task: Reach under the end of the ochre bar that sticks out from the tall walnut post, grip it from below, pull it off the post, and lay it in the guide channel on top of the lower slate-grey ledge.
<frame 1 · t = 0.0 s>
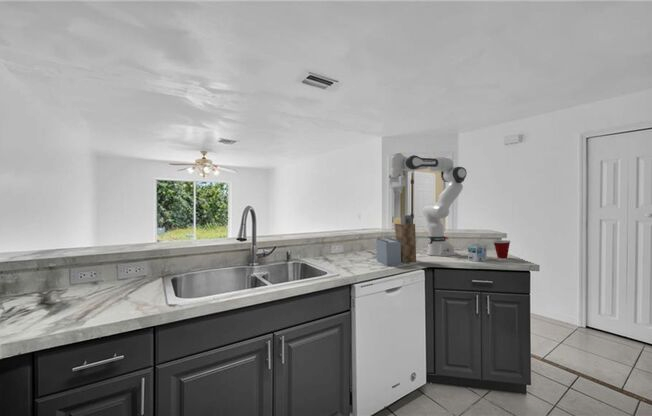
hand: (397, 193, 215), 48 cm above the worktop, tool pointing down, fingers open, 8 cm apart
plastic cup: (501, 258, 200), on the worktop
light bulb box: (477, 260, 194), on the worktop
ochre bar: (401, 223, 203), point 26 cm above the worktop, touching walnut post
slate ledge: (388, 262, 195), on the worktop
walnut post: (406, 261, 198), on the worktop
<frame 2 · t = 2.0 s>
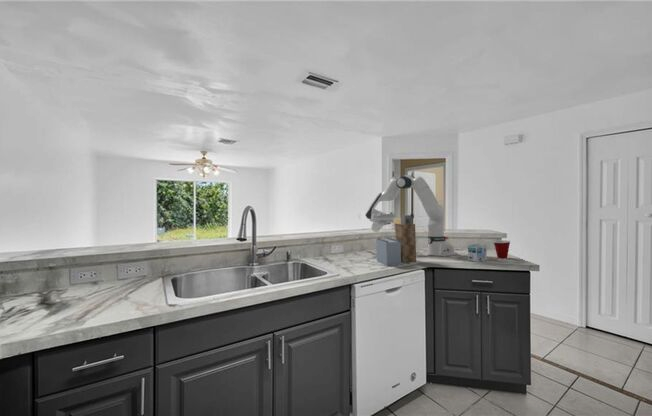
hand: (386, 213, 229), 33 cm above the worktop, tool pointing upward, fingers open, 8 cm apart
nothing on the worktop moved.
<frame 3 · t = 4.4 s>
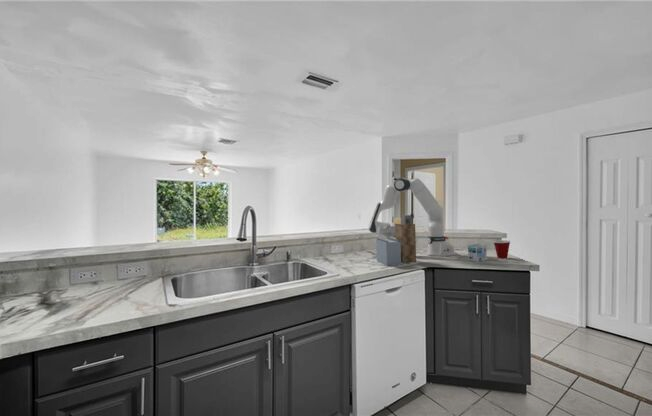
hand: (393, 225, 217), 24 cm above the worktop, tool pointing upward, fingers open, 8 cm apart
nothing on the worktop moved.
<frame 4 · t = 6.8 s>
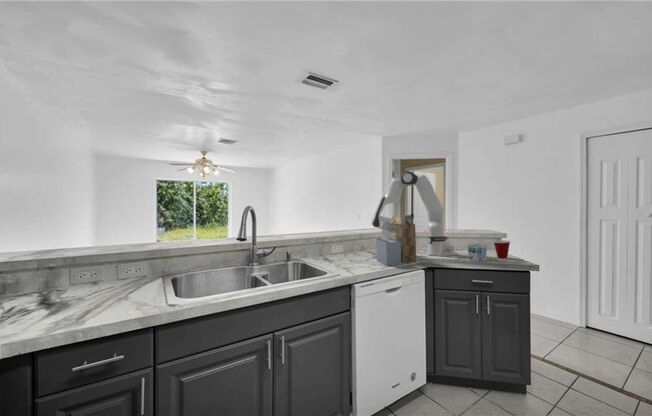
hand: (397, 220, 210), 28 cm above the worktop, tool pointing upward, fingers closed on ochre bar, 3 cm apart
ochre bar: (401, 223, 203), point 26 cm above the worktop, touching gripper, walnut post
everything else where it was.
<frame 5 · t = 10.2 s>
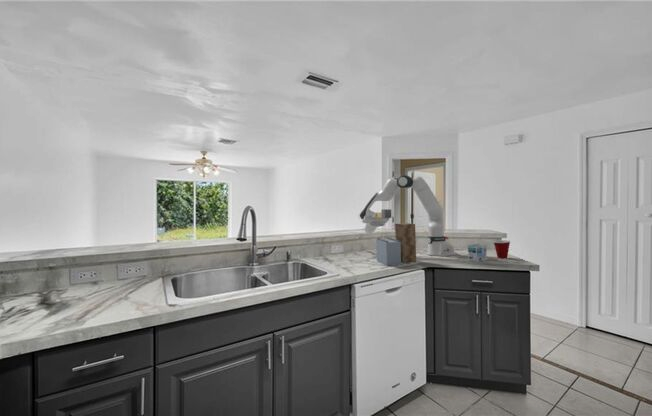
hand: (379, 214, 218), 33 cm above the worktop, tool pointing upward, fingers closed on ochre bar, 3 cm apart
ochre bar: (382, 217, 211), point 30 cm above the worktop, touching gripper
everything else where it was.
when the fingers open (19 cm above the worktop, at t = 14.0 s): ochre bar drops 2 cm, resting on slate ledge.
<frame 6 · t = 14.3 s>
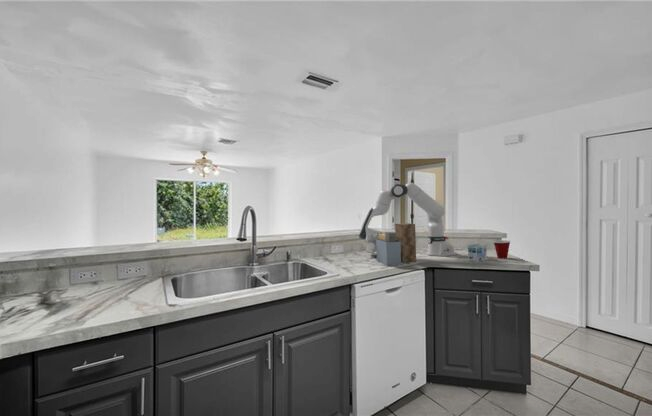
hand: (382, 233, 204), 19 cm above the worktop, tool pointing upward, fingers open, 6 cm apart
ochre bar: (386, 240, 197), point 15 cm above the worktop, touching slate ledge
everything else where it was.
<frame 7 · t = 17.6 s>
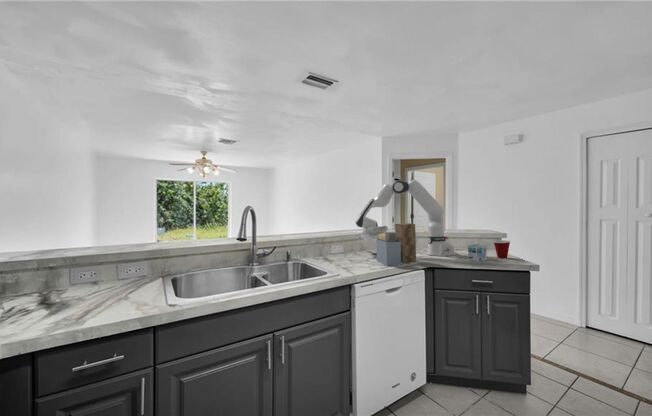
hand: (379, 228, 216), 22 cm above the worktop, tool pointing upward, fingers open, 8 cm apart
nothing on the worktop moved.
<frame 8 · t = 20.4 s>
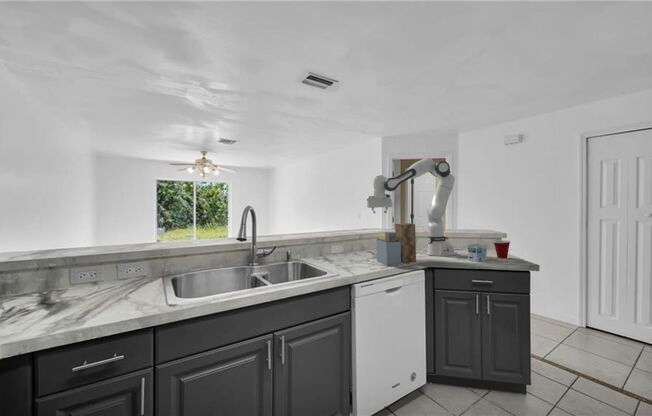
hand: (379, 213, 227), 33 cm above the worktop, tool pointing down, fingers open, 8 cm apart
nothing on the worktop moved.
at the end: ochre bar 0.7 cm from the target spot on the slate ledge, point 15.0 cm above the slate ledge's base; the gripper is holding nothing; ochre bar tilted 0° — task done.
